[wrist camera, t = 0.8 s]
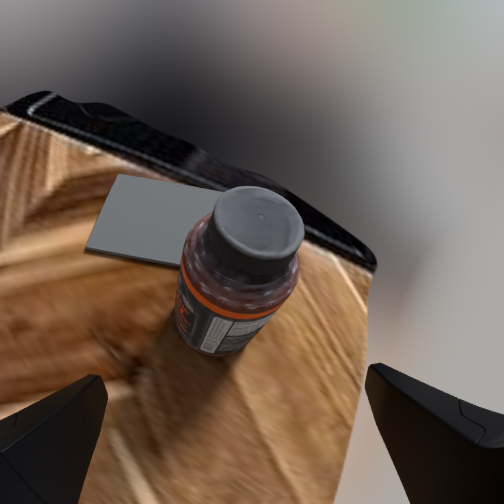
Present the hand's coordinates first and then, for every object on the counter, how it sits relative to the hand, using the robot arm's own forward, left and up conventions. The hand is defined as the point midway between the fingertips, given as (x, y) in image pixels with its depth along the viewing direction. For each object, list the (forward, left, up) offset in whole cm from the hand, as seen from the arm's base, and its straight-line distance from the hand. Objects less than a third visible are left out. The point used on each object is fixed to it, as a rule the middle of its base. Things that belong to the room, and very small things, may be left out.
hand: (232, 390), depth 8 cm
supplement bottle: (+7, -1, -11) cm, 13 cm away
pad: (+15, +3, -11) cm, 19 cm away
